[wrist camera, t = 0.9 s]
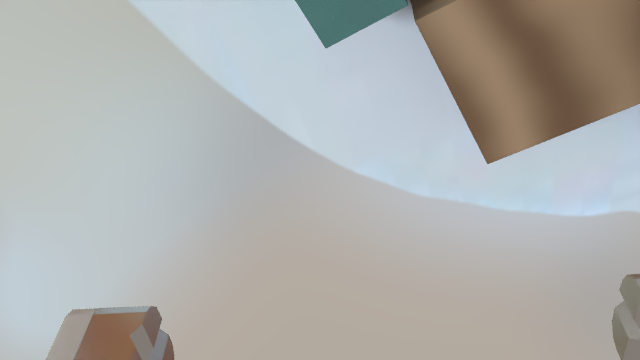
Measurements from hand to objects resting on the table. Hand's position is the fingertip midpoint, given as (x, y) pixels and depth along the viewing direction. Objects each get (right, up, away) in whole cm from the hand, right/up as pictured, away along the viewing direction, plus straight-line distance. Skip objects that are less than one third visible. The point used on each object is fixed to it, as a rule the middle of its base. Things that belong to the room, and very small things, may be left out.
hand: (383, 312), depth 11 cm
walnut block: (+13, +13, +30) cm, 35 cm away
